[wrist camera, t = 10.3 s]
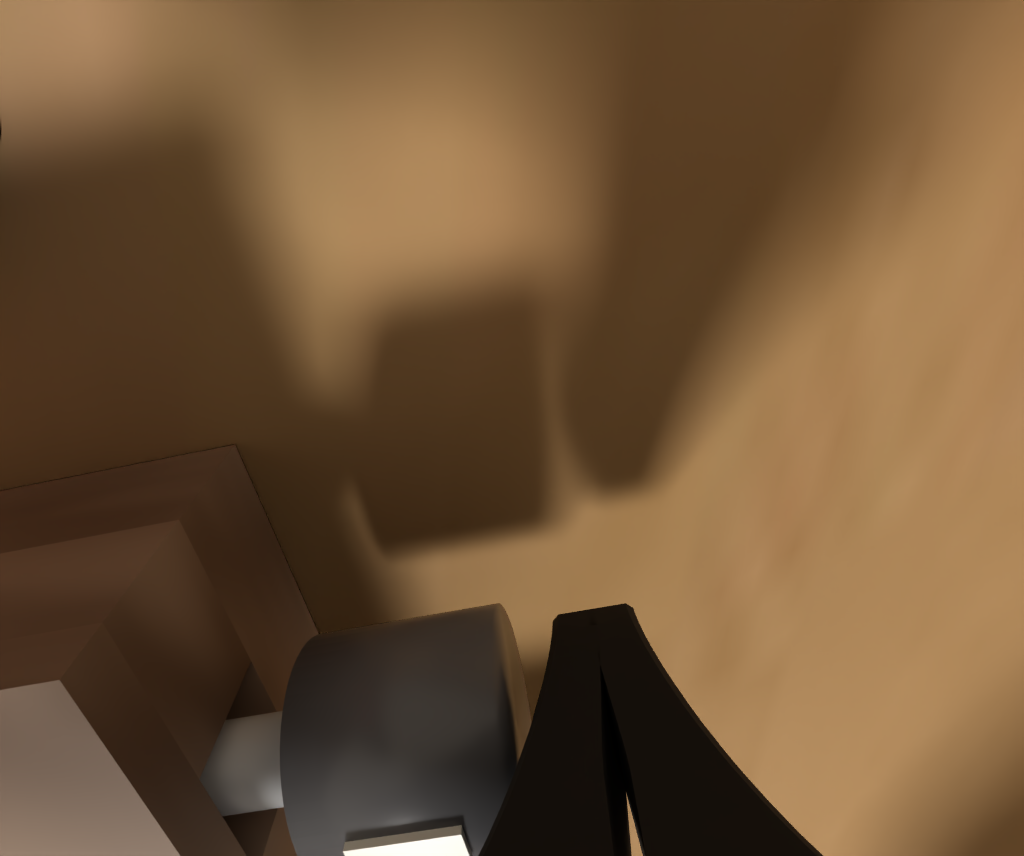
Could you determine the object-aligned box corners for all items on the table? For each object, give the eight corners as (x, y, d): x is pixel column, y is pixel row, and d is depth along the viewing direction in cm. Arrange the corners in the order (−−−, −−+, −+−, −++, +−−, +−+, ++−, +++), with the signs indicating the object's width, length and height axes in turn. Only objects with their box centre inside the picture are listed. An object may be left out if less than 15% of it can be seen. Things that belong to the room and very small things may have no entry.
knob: (534, 708, 13) (545, 919, 10) (103, 776, 14) (-22, 993, 11) (492, 557, 12) (487, 748, 8) (9, 643, 12) (-173, 850, 9)
